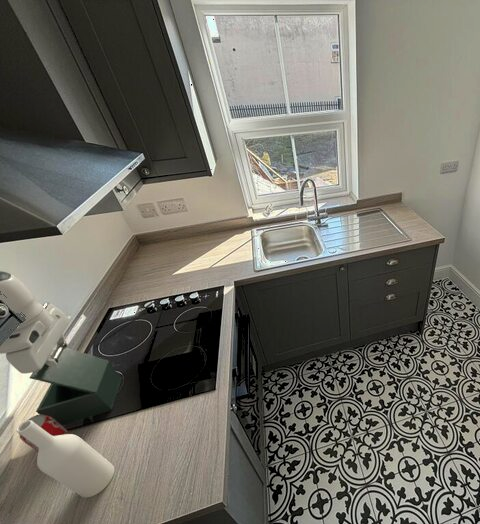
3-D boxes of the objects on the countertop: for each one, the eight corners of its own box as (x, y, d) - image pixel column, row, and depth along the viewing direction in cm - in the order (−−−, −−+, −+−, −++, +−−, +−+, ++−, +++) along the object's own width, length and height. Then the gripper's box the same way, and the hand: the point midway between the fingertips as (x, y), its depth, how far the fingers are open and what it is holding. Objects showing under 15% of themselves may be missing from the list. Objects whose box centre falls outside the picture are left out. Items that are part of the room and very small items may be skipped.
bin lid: (29, 378, 81) (39, 367, 80) (50, 344, 91) (59, 334, 90) (94, 393, 91) (104, 384, 90) (107, 361, 101) (116, 353, 100)
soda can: (74, 443, 89) (49, 423, 82) (44, 462, 85) (15, 443, 78) (70, 427, 93) (46, 407, 86) (41, 445, 89) (14, 425, 82)
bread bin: (55, 427, 93) (35, 411, 87) (71, 393, 103) (54, 376, 97) (112, 410, 97) (96, 393, 91) (122, 378, 107) (108, 362, 101)
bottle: (94, 502, 76) (14, 450, 59) (72, 492, 78) (-12, 440, 61) (121, 468, 83) (56, 412, 66) (100, 459, 85) (32, 403, 68)
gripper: (34, 302, 87) (62, 333, 94) (-9, 355, 71) (29, 388, 78) (60, 296, 88) (85, 328, 96) (23, 347, 72) (57, 380, 80)
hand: (59, 355), depth 87 cm, fingers closed on bin lid, 5 cm apart
